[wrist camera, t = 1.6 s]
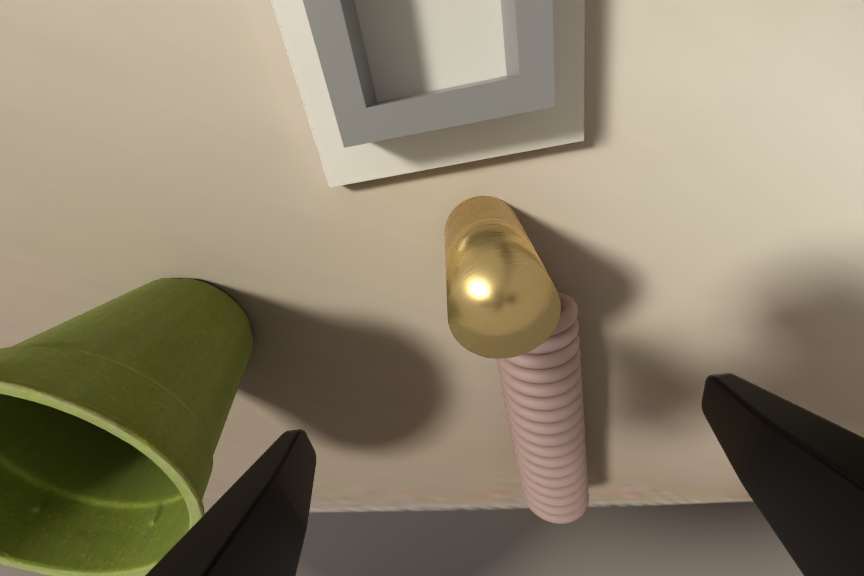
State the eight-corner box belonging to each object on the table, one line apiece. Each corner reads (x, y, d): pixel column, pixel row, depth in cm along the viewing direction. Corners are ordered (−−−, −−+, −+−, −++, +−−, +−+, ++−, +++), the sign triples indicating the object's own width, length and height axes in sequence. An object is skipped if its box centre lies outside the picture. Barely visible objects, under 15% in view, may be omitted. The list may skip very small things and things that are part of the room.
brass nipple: (516, 189, 20) (559, 255, 13) (521, 260, 21) (561, 350, 14) (438, 203, 20) (438, 274, 13) (450, 271, 22) (456, 364, 15)
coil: (485, 325, 19) (526, 530, 27) (586, 313, 18) (596, 530, 26) (485, 278, 23) (521, 470, 31) (568, 266, 22) (581, 468, 30)
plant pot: (275, 414, 28) (186, 602, 18) (98, 363, 26) (-113, 545, 16) (315, 280, 22) (218, 445, 12) (94, 203, 20) (-230, 327, 10)
